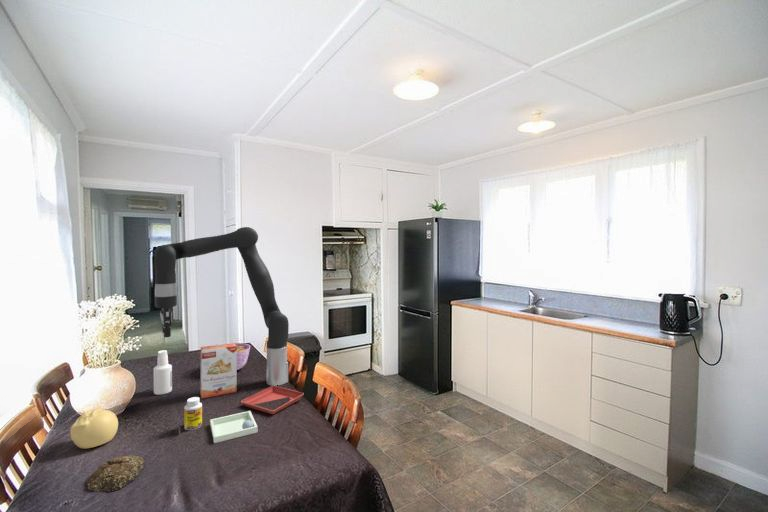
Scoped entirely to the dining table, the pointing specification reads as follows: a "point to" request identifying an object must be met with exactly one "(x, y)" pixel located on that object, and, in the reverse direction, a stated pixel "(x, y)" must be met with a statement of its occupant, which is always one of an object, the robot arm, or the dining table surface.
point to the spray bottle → (162, 374)
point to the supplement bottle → (193, 414)
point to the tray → (232, 426)
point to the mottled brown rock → (115, 473)
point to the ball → (247, 424)
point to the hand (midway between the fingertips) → (166, 334)
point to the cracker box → (218, 370)
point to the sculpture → (94, 428)
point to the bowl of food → (242, 354)
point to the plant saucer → (272, 398)
